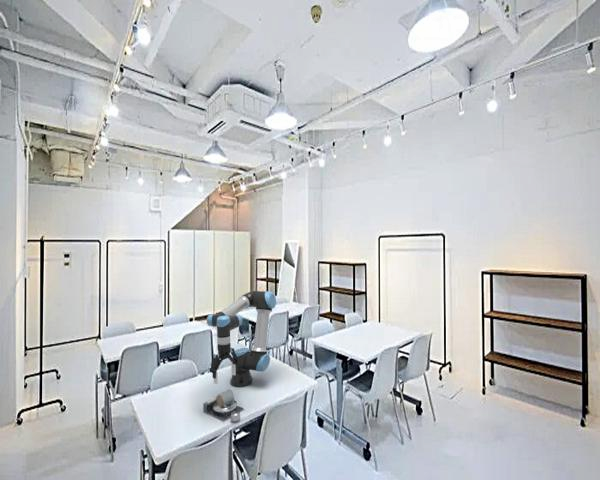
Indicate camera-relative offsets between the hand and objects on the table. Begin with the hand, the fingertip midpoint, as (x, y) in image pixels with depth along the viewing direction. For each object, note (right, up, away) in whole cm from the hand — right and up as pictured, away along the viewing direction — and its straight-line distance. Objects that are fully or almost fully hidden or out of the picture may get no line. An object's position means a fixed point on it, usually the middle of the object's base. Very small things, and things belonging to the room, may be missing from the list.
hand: (224, 379), depth 193 cm
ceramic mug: (+1, -15, -1) cm, 15 cm away
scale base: (-1, -19, +1) cm, 19 cm away
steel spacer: (+8, -19, -10) cm, 23 cm away
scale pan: (0, -18, 0) cm, 18 cm away
